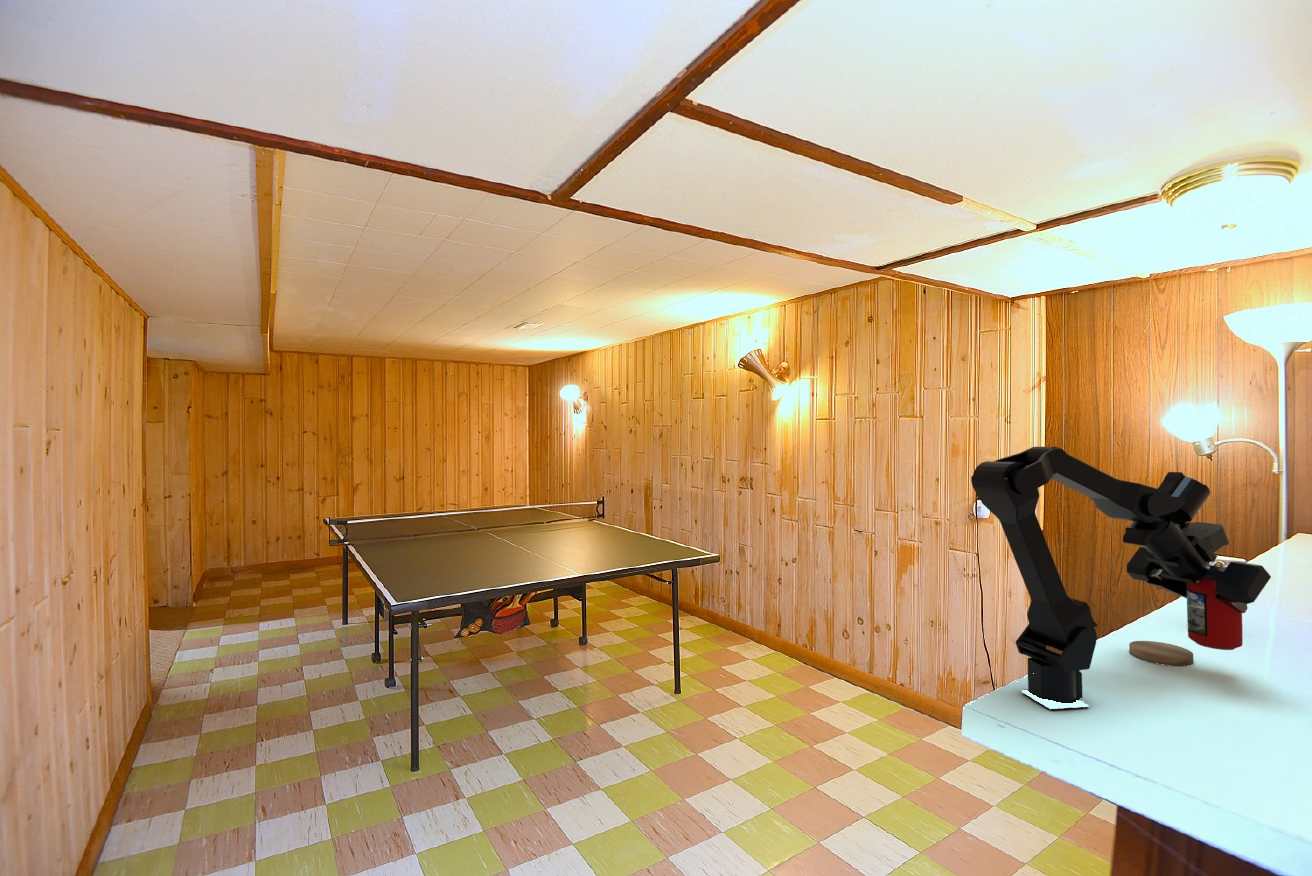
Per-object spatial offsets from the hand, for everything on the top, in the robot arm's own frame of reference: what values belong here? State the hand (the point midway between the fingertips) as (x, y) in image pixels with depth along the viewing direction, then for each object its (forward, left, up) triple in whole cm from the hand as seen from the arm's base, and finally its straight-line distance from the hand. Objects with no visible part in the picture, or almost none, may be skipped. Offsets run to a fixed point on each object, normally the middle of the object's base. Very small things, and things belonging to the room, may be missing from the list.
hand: (1220, 605), depth 100 cm
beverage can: (-1, 0, -7) cm, 7 cm away
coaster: (-2, +10, -12) cm, 16 cm away
